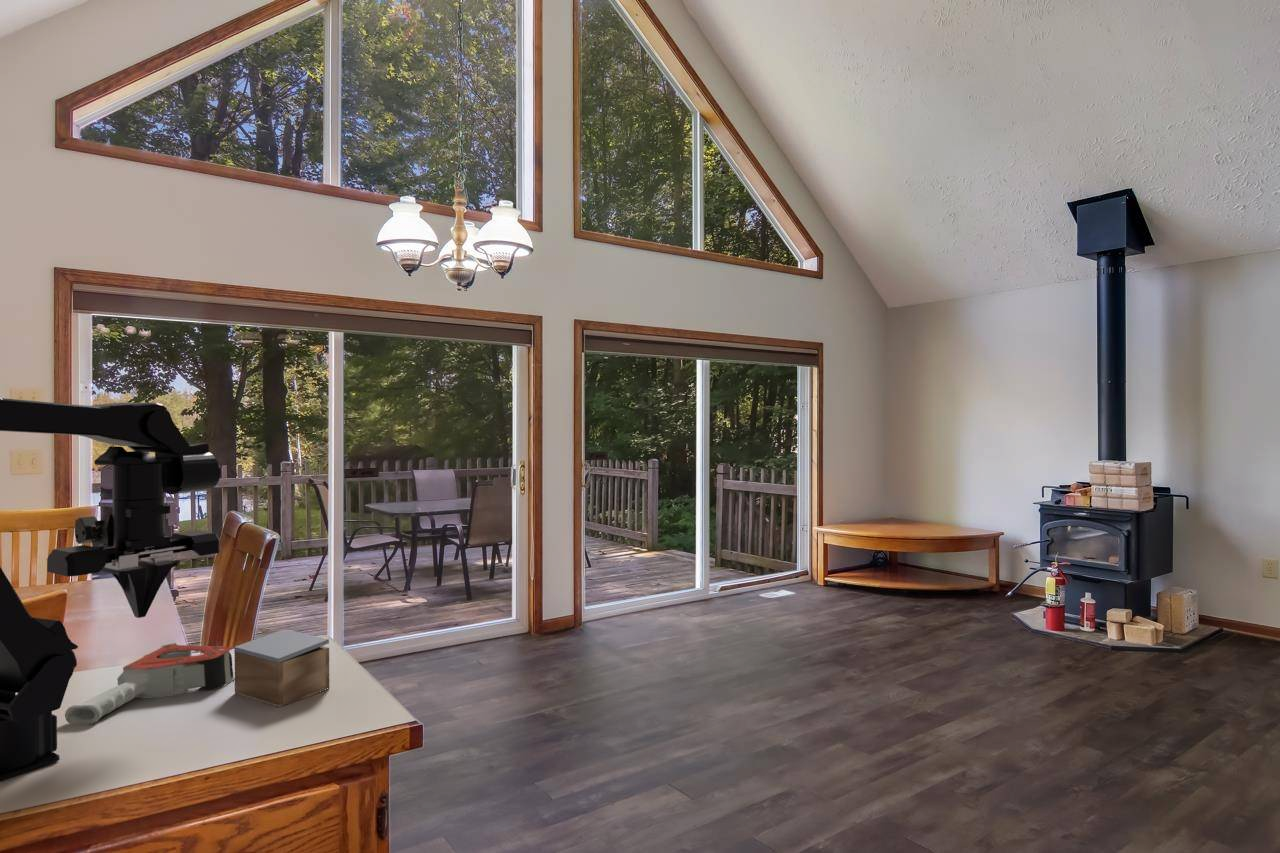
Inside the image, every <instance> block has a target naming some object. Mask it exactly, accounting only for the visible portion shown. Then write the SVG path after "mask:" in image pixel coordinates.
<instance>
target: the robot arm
mask: <svg viewBox="0 0 1280 853" xmlns="http://www.w3.org/2000/svg"><path fill="white" fill-rule="evenodd" d="M0 432H10V433H11V432H12V433H13V432H14V433H26V434H27V433H30V434H33V433H34V434H46V435H47V434H48V435H49V434H51V435H65V436H66V435H67V436H71V435H72V436H80V437H85V438H89V439H91V440H93V441H97V442H101V443H105V444H110V446H109V447H107V449H106V451H104V453H102V454H101V455H99V456H98V457H97V458H96V459H94V462H93V463H94V465H95V466H111V467H112V468H111V469H112V470H111V472H112V474H111V476H112V480H111V482H112V489H111V490H112V505H110V506H109V505H108V506H107V509H106V517H105V519H102V520H101V519H100V520H98V519H97V517H96V516H94V515H92V516H85V517H79V518H76V519H75V521H74V537H75V541H76V542H77V544H78V545H76V546H67V547H61V548H53V549H52V550H51V552H50V553H49V555H48V556H47V559H46V565H47V566H46V571H47V572H48V573H52V574H55V575H59V576H62V577H63V576H64V577H78V576H85V575H92V574H96V573H100V572H103V573H108V574H111V575H112V576H113V577H114V578H115V579H116V581H117V582H118V584H119V585H120V588H121V589H122V591H123V594H124V595H125V598H126V600H127V601H128V604H129V606H130V608H131V611H132V613H133V615H134V617H135V618H137V619H141V618H145V617H146V616H147V615H148V612H149V610H150V607H151V606H152V603H153V602H154V600H155V598H156V595H157V594H158V592H159V589H160V587H161V586H162V585H163V583H164V581H165V579H166V578H167V576H168V575H169V573H170V572H171V570H172V568H174V567H178V566H179V563H180V561H176V560H173V559H174V554H177V553H182V552H183V553H184V552H190V551H192V552H193V553H194V554H196V555H197V556H199V557H200V556H203V557H204V556H208V555H215V554H220V553H221V539H220V537H219V536H218V535H217V533H215V532H212V531H206V530H199V529H197V530H189V531H182V532H181V531H180V532H173V533H171V536H170V535H166V530H165V529H166V523H165V522H166V518H165V517H166V516H165V515H167V514H171V505H167V504H166V502H165V499H166V498H165V494H166V495H167V494H168V495H178V494H188V493H197V492H205V491H210V490H212V489H214V488H215V487H216V486H217V485H218V483H219V482H220V478H221V472H222V471H221V466H220V464H219V462H218V460H217V458H216V456H214V454H212V453H211V452H210V447H209V446H210V444H208V443H199V442H197V443H188V441H187V440H186V438H185V437H184V435H183V434H182V432H181V431H180V429H179V428H178V427H177V425H176V424H175V422H174V421H173V418H172V415H171V413H170V412H169V410H168V408H167V406H166V405H164V404H162V403H158V402H112V403H101V404H99V403H98V404H92V405H84V404H72V403H59V402H50V401H49V402H47V401H36V400H27V399H15V398H3V397H0ZM111 445H113V446H111ZM125 447H127V448H129V449H130V450H132V451H127V450H126V449H125ZM152 453H154V455H153V454H152ZM90 543H91V546H90V545H87V544H90ZM80 544H81V545H80ZM82 544H83V545H82ZM47 572H46V573H47ZM78 648H79V646H78V645H77V644H76V643H74V642H73V641H72V640H71V639H70V637H69V636H68V632H67V630H66V627H65V625H64V624H63V622H62V621H61V620H57V619H49V618H42V617H35V616H32V615H31V614H30V613H29V610H27V608H26V606H25V605H24V603H23V601H22V600H21V598H20V596H19V595H18V594H17V592H16V590H15V589H14V587H13V585H12V583H11V582H10V580H9V579H8V577H7V576H6V574H5V572H4V570H3V569H2V567H1V566H0V781H2V780H5V779H7V778H8V779H9V778H10V777H13V776H16V775H19V774H23V773H26V772H28V771H29V772H30V771H32V770H34V769H37V768H40V767H43V766H46V765H49V764H52V763H56V762H57V761H59V760H60V755H59V754H58V753H56V751H57V750H58V716H57V715H56V714H53V711H56V710H59V709H61V706H62V703H63V700H64V697H65V694H66V692H67V688H68V686H69V683H70V679H71V678H72V676H73V675H74V674H73V673H74V671H75V669H76V667H77V666H78V661H77V660H78V659H77V656H76V654H75V652H74V651H73V650H76V649H78Z"/></svg>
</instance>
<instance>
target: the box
mask: <svg viewBox="0 0 1280 853" xmlns="http://www.w3.org/2000/svg"><path fill="white" fill-rule="evenodd" d="M233 654H234V678H235V681H234V694H235V693H237V694H236V695H238V694H239V696H241V697H245V696H246V697H245V698H249V699H251V698H252V700H254V699H255V701H257V700H258V702H261V701H262V702H261V703H264V702H266V703H265V704H267V703H269V704H268V705H270V704H271V705H270V706H273V705H275V706H274V707H277V708H281V707H284V706H286V705H285V704H287V705H290V704H292V703H294V701H295V702H298V701H300V700H303V699H306V698H308V696H309V697H311V696H314V695H316V693H317V694H319V693H318V692H320V691H322V692H325V691H326V690H325V689H327V688H329V689H330V647H328V646H325V645H323V646H321V647H318V648H316V649H313V650H310V651H308V652H305V653H303V654H300V655H298V656H295V657H293V658H290V659H287V660H285V661H282V662H280V663H277V662H274V661H270V660H266V659H262V658H259V657H255V656H251V655H247V654H244V653H240V652H236V651H234V653H233ZM324 690H325V691H324ZM320 693H321V692H320ZM313 694H314V695H313ZM305 697H306V698H305ZM299 699H300V700H299ZM297 700H298V701H297ZM291 702H292V703H291ZM283 705H284V706H283ZM280 706H281V707H280Z"/></svg>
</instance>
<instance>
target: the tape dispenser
mask: <svg viewBox="0 0 1280 853" xmlns="http://www.w3.org/2000/svg"><path fill="white" fill-rule="evenodd" d="M231 650H233V647H229V646H228V647H227V646H221V645H216V646H213V645H210V646H209V645H195V644H193V645H192V644H191V645H185V644H184V645H183V644H182V645H181V644H177V643H176V642H174V643H173V642H172V643H166V644H163V645H161V646H160V648H158V649H156V650H154V651H152V652H150V653H147V654H145V655H143V656H142V657H141V658H138V659H137V660H135V661H133V662H131V663H129V664H126V665H125V666H122V670H123V671H122V672H121V674H120V675H118V677H117V679H116V680H117V686H114V687H111V688H110V689H107V690H105V691H103V692H101V693H99V694H97V695H95V696H92V698H89V699H87V700H86V701H83V702H81V703H79V704H73V705H71V706H70V707H68V708H67V709H66V710H65V714H64V717H65V721H66V722H68V724H70V725H91V724H96V723H98V721H99V720H100V719H101V718H102V717H103V716H105V715H107V714H109V713H112V711H114V710H115V709H117V708H119V707H122V706H123V705H124V704H126V703H127V702H130V701H131V700H133V699H134V698H141V699H142V698H143V699H145V698H146V699H153V698H162V697H168V696H175V695H183V694H187V693H188V692H189V690H191V689H196V688H201V689H202V690H204V691H213V690H217V689H221V688H222V687H224V685H225V684H227V683H229V682H231V681H233V680H235V676H234V669H233V657H232V654H231V652H230V651H231ZM192 651H195V652H201V653H202V654H199V655H192ZM233 682H234V681H233ZM231 683H232V682H231ZM229 684H230V683H229ZM227 685H228V684H227ZM225 686H226V685H225Z"/></svg>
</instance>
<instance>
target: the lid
mask: <svg viewBox="0 0 1280 853" xmlns="http://www.w3.org/2000/svg"><path fill="white" fill-rule="evenodd" d="M327 644H330V639H329V638H326V637H321V636H317V635H312V634H308V633H303V632H299V631H296V630H291V629H290V630H289V629H287V628H284V629H281V630H278V631H275V632H272V633H270V634H267V635H265V636H264V635H263V636H261V637H259V638H256V639H253V640H250V641H247V642H245V643H241V644H239V645H236V646H234V647H233V649H234V651H236V652H240V653H244V654H247V655H251V656H255V657H259V658H262V659H266V660H270V661H274V662H277V663H280V662H282V661H285V660H287V659H290V658H293V657H295V656H298V655H300V654H303V653H305V652H308V651H310V650H313V649H316V648H318V647H321V646H325V645H327Z"/></svg>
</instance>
